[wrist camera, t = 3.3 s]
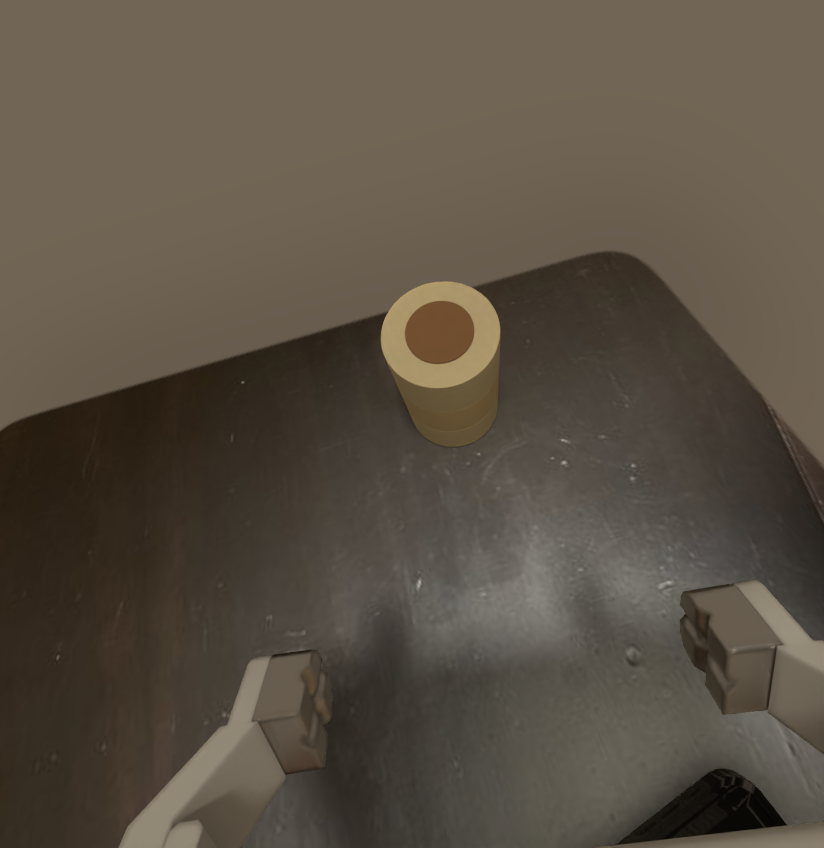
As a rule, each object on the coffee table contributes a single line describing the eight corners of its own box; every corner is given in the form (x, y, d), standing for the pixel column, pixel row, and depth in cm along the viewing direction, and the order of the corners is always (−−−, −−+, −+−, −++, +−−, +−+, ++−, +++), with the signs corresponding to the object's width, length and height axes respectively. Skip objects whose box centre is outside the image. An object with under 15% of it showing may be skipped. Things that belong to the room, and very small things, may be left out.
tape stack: (462, 350, 32) (451, 258, 23) (515, 412, 30) (526, 338, 21) (394, 399, 31) (357, 324, 23) (444, 464, 29) (425, 410, 21)
